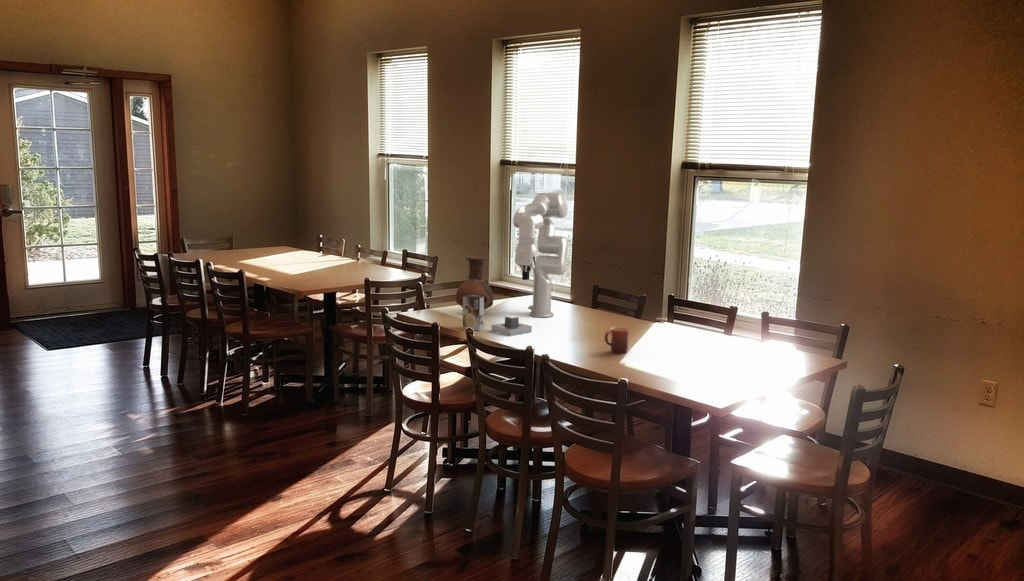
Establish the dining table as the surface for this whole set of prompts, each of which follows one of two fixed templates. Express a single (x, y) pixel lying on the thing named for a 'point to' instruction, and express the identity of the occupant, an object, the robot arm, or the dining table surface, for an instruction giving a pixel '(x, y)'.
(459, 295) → the vase
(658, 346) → the dining table surface
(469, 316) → the coffee box
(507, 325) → the plug
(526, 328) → the socket plate
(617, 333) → the mug
